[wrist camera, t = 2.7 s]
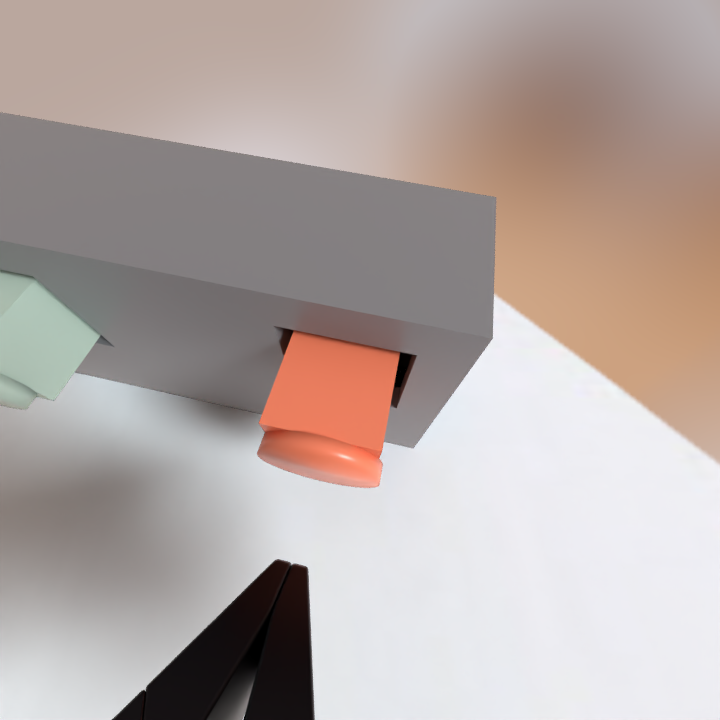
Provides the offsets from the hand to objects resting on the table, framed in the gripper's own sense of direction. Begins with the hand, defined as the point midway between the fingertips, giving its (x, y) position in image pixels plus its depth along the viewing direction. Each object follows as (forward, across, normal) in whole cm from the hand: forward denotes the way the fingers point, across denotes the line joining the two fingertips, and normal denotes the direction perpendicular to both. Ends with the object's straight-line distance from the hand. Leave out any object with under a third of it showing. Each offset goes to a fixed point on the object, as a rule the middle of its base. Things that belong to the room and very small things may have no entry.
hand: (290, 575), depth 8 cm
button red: (+6, 0, -1) cm, 6 cm away
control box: (+13, +7, 0) cm, 15 cm away
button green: (+6, +13, -1) cm, 14 cm away
